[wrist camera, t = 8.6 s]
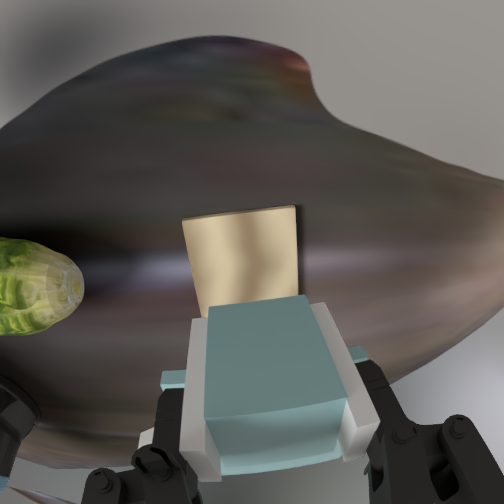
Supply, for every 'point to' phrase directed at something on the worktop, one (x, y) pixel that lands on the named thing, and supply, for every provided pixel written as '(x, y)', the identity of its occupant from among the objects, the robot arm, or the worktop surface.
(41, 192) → the worktop surface
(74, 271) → the lettuce
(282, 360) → the lid
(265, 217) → the board
